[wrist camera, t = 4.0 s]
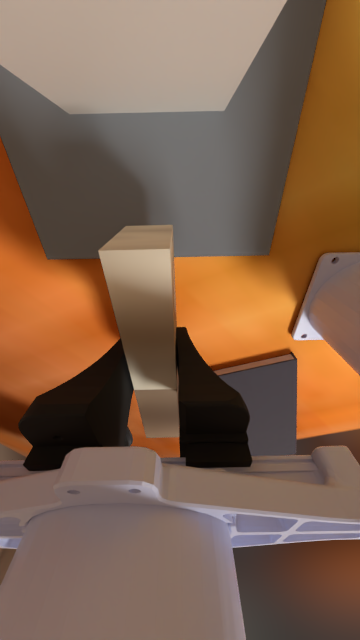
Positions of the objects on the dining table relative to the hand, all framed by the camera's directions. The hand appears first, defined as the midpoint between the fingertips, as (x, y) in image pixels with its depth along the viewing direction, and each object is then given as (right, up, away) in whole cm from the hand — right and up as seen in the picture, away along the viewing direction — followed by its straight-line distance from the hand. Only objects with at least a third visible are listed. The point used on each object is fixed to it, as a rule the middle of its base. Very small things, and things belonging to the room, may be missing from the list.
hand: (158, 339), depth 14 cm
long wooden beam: (0, +1, +1) cm, 1 cm away
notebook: (+10, -12, +14) cm, 21 cm away
